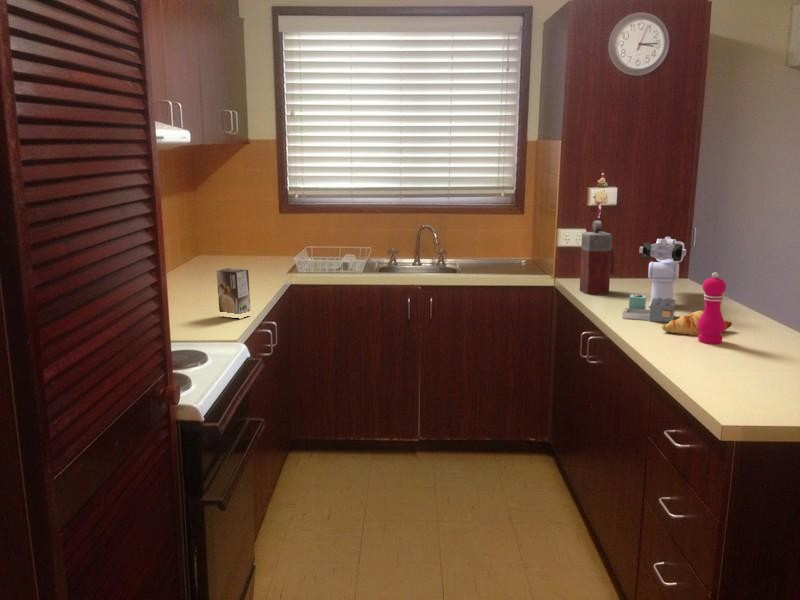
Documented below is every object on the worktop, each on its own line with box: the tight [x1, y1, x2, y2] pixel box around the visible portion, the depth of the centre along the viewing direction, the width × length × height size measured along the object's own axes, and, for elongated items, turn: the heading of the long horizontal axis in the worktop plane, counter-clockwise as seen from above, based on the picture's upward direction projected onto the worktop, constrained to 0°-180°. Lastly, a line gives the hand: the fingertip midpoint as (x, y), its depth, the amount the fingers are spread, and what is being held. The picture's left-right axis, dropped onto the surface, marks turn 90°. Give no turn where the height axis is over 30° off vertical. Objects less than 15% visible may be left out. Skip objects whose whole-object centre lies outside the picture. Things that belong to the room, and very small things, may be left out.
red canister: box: [579, 220, 616, 295], centre depth 275 cm, size 9×11×28 cm
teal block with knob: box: [628, 294, 647, 309], centre depth 241 cm, size 5×5×6 cm
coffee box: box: [216, 267, 252, 314], centre depth 238 cm, size 9×6×16 cm
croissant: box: [661, 310, 733, 336], centre depth 213 cm, size 21×10×8 cm, turn 95°
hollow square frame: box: [621, 297, 676, 323], centre depth 232 cm, size 12×16×6 cm
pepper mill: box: [697, 271, 727, 345], centre depth 200 cm, size 7×7×20 cm
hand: (660, 253), depth 229 cm, fingers open, 7 cm apart
